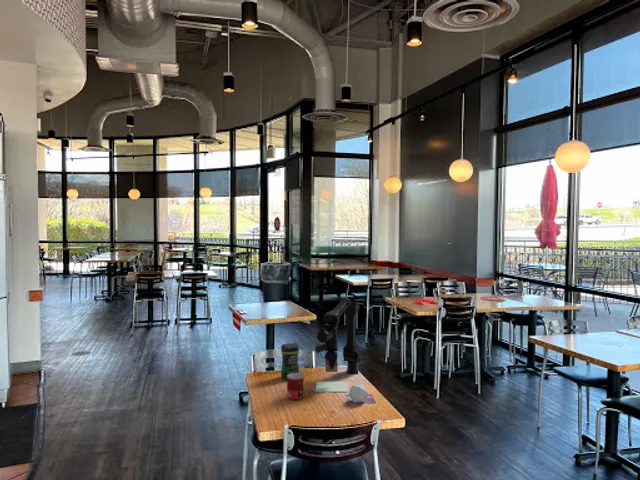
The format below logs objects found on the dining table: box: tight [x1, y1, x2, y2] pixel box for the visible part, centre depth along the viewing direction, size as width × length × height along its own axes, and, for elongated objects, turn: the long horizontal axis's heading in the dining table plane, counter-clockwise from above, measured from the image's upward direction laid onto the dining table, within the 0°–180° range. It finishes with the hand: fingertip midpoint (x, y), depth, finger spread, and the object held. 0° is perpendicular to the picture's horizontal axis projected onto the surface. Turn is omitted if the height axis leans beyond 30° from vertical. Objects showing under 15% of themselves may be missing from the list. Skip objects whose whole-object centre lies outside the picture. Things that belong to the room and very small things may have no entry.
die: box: [348, 383, 369, 404], centre depth 220 cm, size 8×9×10 cm
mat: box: [314, 381, 349, 393], centre depth 240 cm, size 14×16×1 cm
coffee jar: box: [280, 342, 300, 380], centre depth 256 cm, size 10×8×19 cm
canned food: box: [286, 372, 305, 402], centre depth 225 cm, size 8×8×11 cm
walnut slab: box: [325, 358, 338, 373], centre depth 241 cm, size 2×6×6 cm, turn 87°
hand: (331, 368), depth 241 cm, fingers closed on walnut slab, 2 cm apart
